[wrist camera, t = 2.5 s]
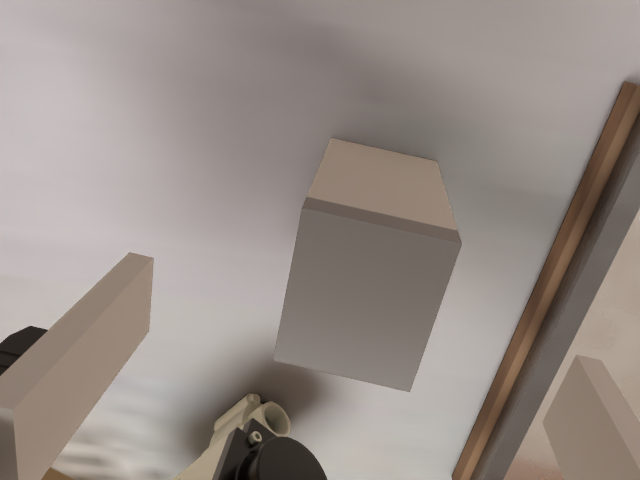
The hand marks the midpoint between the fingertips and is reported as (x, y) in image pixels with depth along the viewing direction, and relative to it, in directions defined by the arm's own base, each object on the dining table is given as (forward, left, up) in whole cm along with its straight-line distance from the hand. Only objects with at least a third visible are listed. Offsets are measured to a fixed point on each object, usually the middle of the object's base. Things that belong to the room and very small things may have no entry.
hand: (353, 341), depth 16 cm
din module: (0, 0, -10) cm, 10 cm away
